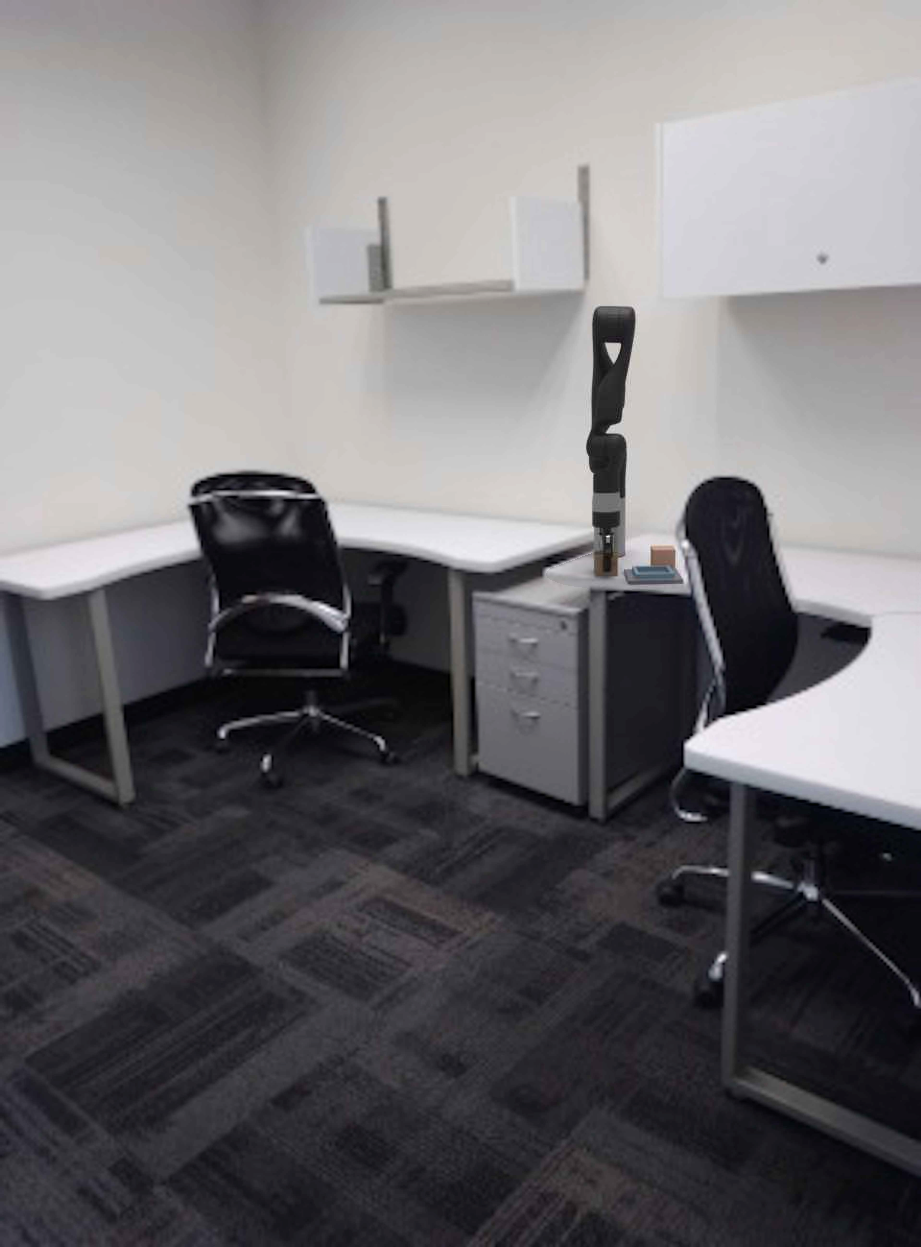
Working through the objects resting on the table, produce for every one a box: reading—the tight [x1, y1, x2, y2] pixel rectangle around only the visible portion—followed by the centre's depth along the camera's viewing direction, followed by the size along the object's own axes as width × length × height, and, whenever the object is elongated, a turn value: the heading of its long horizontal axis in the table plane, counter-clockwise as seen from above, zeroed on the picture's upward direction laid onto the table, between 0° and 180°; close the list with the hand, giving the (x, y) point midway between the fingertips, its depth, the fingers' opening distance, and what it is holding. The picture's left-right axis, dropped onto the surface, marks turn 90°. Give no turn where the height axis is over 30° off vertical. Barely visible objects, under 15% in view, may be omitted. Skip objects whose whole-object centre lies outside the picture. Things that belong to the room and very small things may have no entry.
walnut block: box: [593, 550, 619, 578], centre depth 265 cm, size 6×6×6 cm
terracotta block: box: [649, 545, 676, 568], centre depth 268 cm, size 6×6×6 cm
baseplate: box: [623, 565, 684, 585], centre depth 259 cm, size 14×14×2 cm
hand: (606, 568), depth 265 cm, fingers open, 7 cm apart
